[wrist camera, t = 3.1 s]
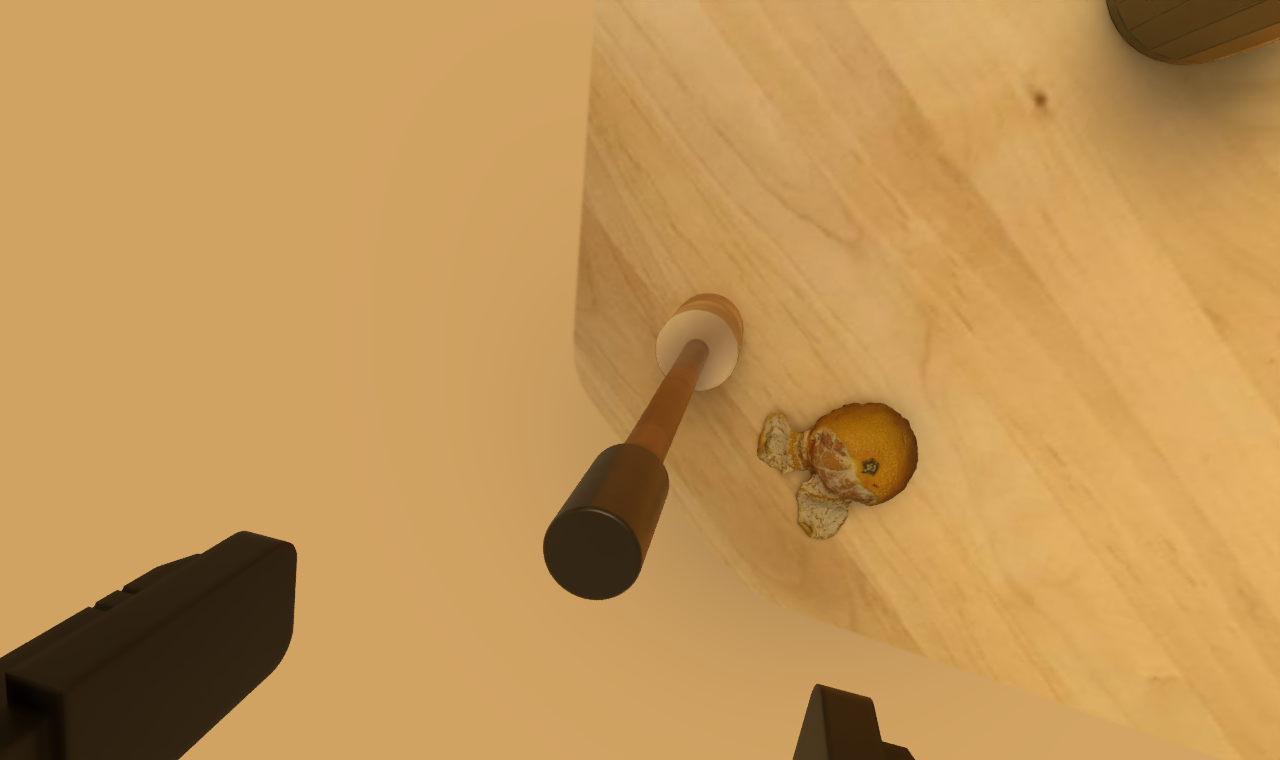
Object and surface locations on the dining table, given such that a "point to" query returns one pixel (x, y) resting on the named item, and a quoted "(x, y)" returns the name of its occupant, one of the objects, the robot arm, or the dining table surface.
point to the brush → (640, 459)
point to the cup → (1196, 27)
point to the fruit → (842, 461)
